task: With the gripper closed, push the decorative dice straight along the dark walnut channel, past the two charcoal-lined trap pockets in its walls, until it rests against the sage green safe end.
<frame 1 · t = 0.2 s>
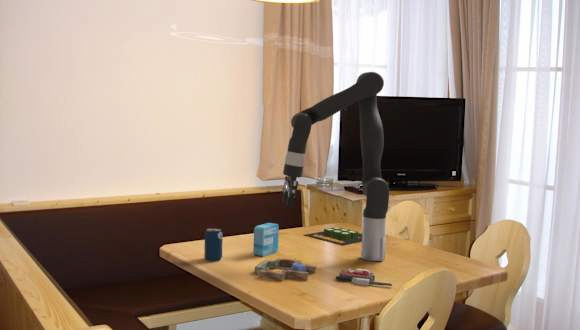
hand: (287, 204, 234), 22 cm above the table, tool pointing down, fingers open, 8 cm apart
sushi: (340, 238, 281), on the table
light blue box: (265, 254, 245), on the table
walkie-talkie: (364, 283, 210), on the table
decorative dice: (298, 275, 216), on the table
trap channel: (285, 272, 218), on the table
soda can: (213, 260, 233), on the table
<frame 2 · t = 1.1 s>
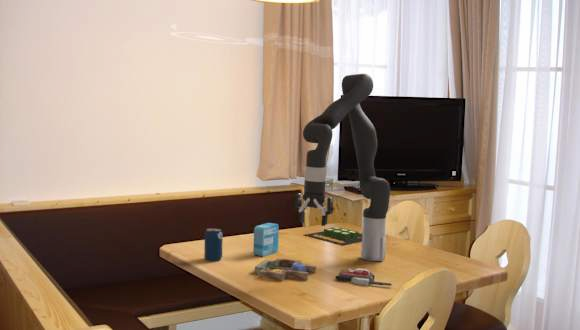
hand: (312, 224, 214), 19 cm above the table, tool pointing down, fingers open, 8 cm apart
nothing on the table moved.
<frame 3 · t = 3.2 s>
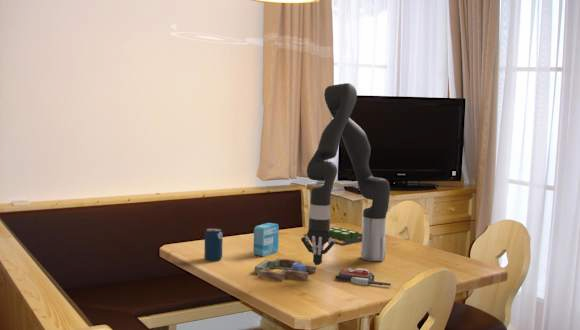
hand: (317, 264, 213), 5 cm above the table, tool pointing down, fingers closed
nothing on the table moved.
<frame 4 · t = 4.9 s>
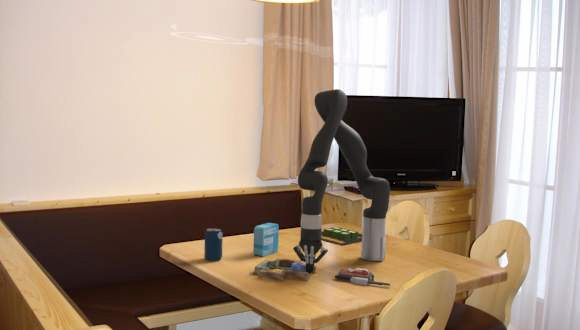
hand: (309, 273, 215), 1 cm above the table, tool pointing down, fingers closed
decorative dice: (298, 275, 216), on the table, touching gripper
everything else where it was.
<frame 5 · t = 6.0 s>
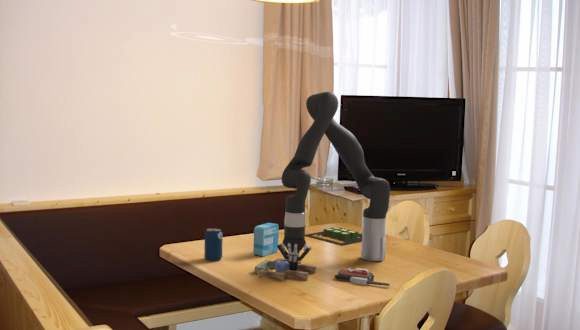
hand: (293, 271, 216), 1 cm above the table, tool pointing down, fingers closed
decorative dice: (282, 273, 218), on the table, touching gripper
everything else where it was.
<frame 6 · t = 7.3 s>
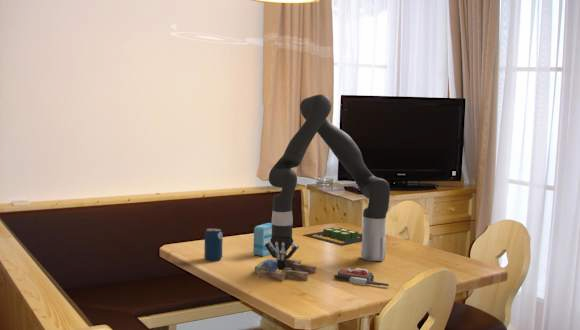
hand: (281, 269, 218), 1 cm above the table, tool pointing down, fingers closed
decorative dice: (270, 271, 220), on the table, touching gripper, trap channel
everything else where it was.
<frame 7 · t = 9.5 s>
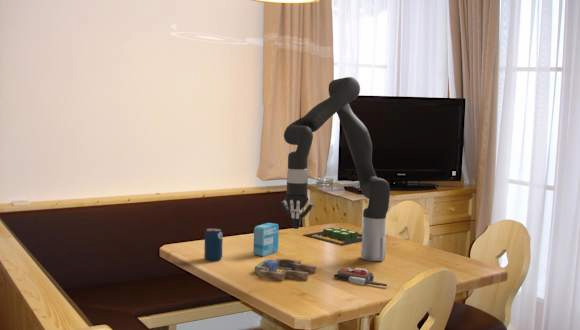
hand: (296, 228, 215), 17 cm above the table, tool pointing down, fingers closed
decorative dice: (270, 271, 220), on the table
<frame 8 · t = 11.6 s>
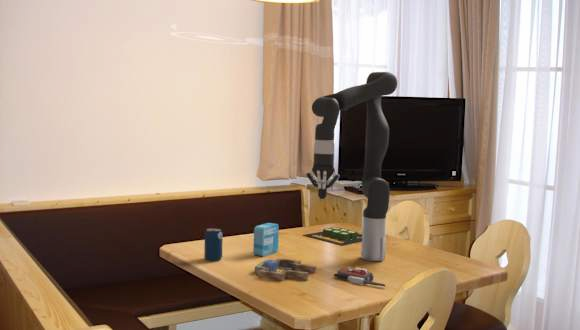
hand: (322, 198, 221), 27 cm above the table, tool pointing down, fingers closed
at the end: decorative dice 0.7 cm from the target spot, on the table; the gripper is holding nothing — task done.
